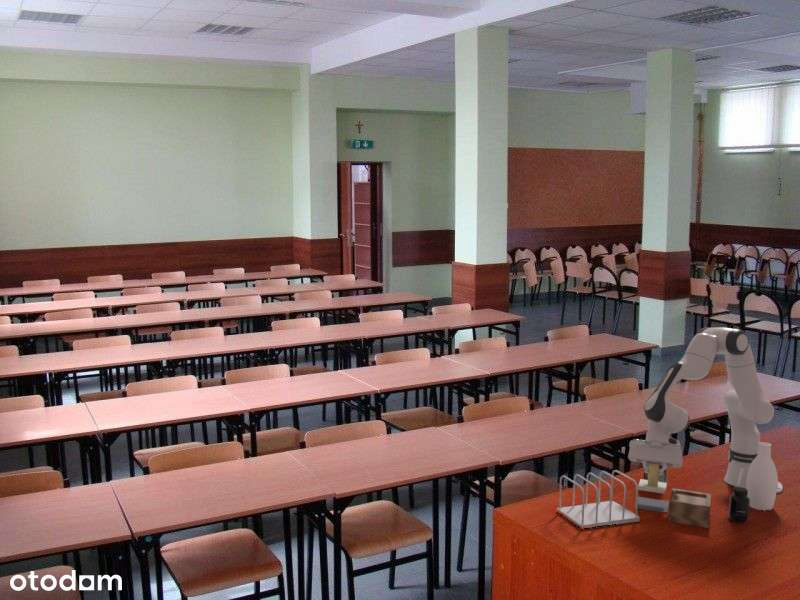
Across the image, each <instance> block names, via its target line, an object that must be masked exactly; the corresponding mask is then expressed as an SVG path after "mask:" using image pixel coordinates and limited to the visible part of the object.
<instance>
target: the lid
mask: <svg viewBox="0 0 800 600" xmlns="http://www.w3.org/2000/svg"><path fill="white" fill-rule="evenodd" d="M658 472H659V465H657V464H649V471H648V480H644V479H642V478H640V479H639V483H638V484H637V485H638V491H646V492H652V493H657V494H663V495H664V494H666V491H667V486H668V482H667V483H663V482H658Z"/></svg>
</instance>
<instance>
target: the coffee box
mask: <svg viewBox="0 0 800 600" xmlns="http://www.w3.org/2000/svg"><path fill="white" fill-rule="evenodd" d="M646 467H649V464H648V463H647V464H646ZM662 467H663V466H662V465H659V469H662ZM668 467H669V466H666V469H665V470H664V471H663V474H662V475H658V482H663V483H667V484H668V470H669V468H668ZM644 470H645V469H644V468H643V477H642V478H643V479H644V480H648V473H645V472H644Z"/></svg>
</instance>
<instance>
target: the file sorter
mask: <svg viewBox="0 0 800 600" xmlns="http://www.w3.org/2000/svg"><path fill="white" fill-rule="evenodd" d="M615 473H617V474H619V475H621V476H624V477H625V478H626V479H628V480H631V482H633V483H634V485H635V491H636V492H635V503H636V508H635V513H634V512H632V511H631V510H629V509H627V508H626V498H627V497H626V496H627V486H626V484H625V482H624V481H622V480H620V479H619V478H617V477H615V475H614V474H615ZM603 474H605V475H607V476H609V478H611V484H610V483H608V482H607V481H605V480H604V479H602V475H603ZM590 475H591V476H593V477H594V478H595V479H598V487H597V485H596V484H594V483H593V482H591V481H590V480H589V476H590ZM598 475H599V476H597V475H596V474H594V473H592V472H588V473H587V474H586V478H585V477H584V476H582V475H581V474H578V473H577V474H574V476H573V480H572V479H571V478H569V477H567V476H566V475H561V476H560V477H559V498H558V499H559V500H558V501H559V502H558V503H559V505H558V507H557V508H556V511H557V510H558V511H560V512H561V513H563V514H564V515H565V516H567V517H568V518H569V519H571V520H572V521H573V522H575V523H576V524H577V525H579V526H580V527H582V528H583V527H595V526H602V525H610V526H615V525H614V524H616V525H621V524H629V523H636V522H640V521H641V520H640V518H641V517H640V516H639V515H638V497H639V490H638V485H639V484H638V482H637V481H636V479H634V478H632V477H630V476H628V475H626V474H625V473H623V472H621V471H619V470H617V469H614V470H612V472H611V473H608V471H605V470H601V471H600V472H599V474H598ZM577 477H579V478H580V479H582V480H583V481H585V482H586V483H585V484H586V485H585V490H584V488H583V487H582V485H580V484H579V483H577V481H576V480H577ZM563 478H564V479H566V480H568V481H569V482H571V483H573V489H572V505H571V506H563V507H562V486H563V485H562V483H563V481H562V480H563ZM614 480H615V481H617V482H619V483H621V484H622V486H623V492H624V493H623V503H622V504H623V505H621V504H619V503H617V502H616V501H614V500H613V498H614ZM602 483H604V484H605V485H607V486H608V488H609V500H608V501H607V500H606V501H601V487H602V486H601V484H602ZM589 485H591V486H593V487H594V488H595V491H596V500H595V501H596V502H593V503H588V498H589V497H588V496H589V495H588V493H589ZM576 486H577V487H578V488H580V490H581V493H582V502H581V504H577V505H575V499H576V495H575V494H576ZM612 524H613V525H612Z"/></svg>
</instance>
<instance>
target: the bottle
mask: <svg viewBox="0 0 800 600" xmlns="http://www.w3.org/2000/svg"><path fill="white" fill-rule="evenodd" d="M771 449H772V444H771V443H770V442H766V441H760V442H759V448H758V455H757V456H756V458H755V459H754V460H753V461H752V463H751V465H750V467H749V470H748V474H747V482H746V489H747V490H748V495H747V497H749V499H750V507H749V508H751V509H753V508H754V509H753V510H756V509H757V511H761V510H763V511H762V512H767V511H766V510H769V511H772V510H773V508H774V504H775V501H776V498H777V493H776V492H777V485H778V482H779V480H778V479H779V478H778V471H777V468H776V464H775V462H774V461H773V459H772V456H771V454H772V453H771V452H772V450H771Z"/></svg>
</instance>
